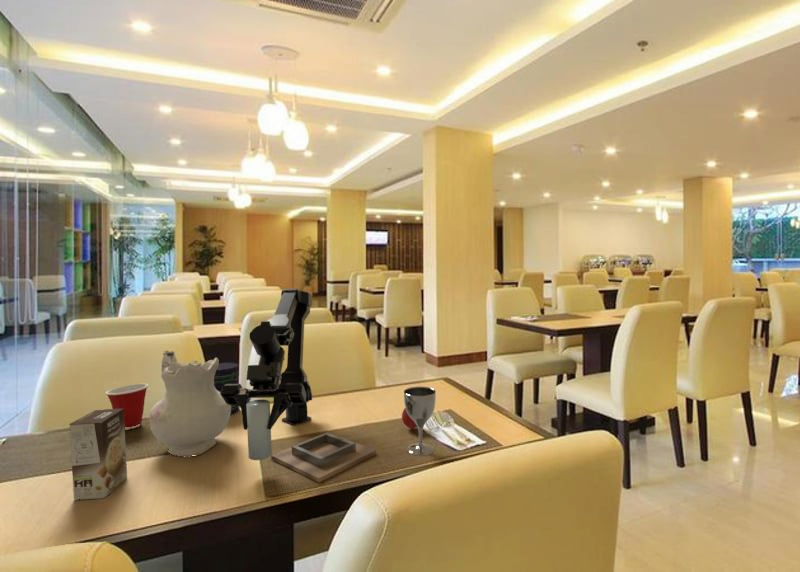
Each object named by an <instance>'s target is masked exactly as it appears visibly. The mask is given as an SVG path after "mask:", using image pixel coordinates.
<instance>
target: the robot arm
mask: <svg viewBox="0 0 800 572" xmlns="http://www.w3.org/2000/svg"><path fill="white" fill-rule="evenodd" d="M280 295H281V296H280V300H279V302H278V304H277V308H276V309H275V312H274V315H273V316H272V317H270V318H269V319H266V320H262V321H261V322H260V325H257V326H256V327H253V329H252V330H251V331H250V332H249V340H250V343H251V345H252V346H253V348H254V351H255V352H256V354H257V355H258V356H259V360H258V364H251V365H249V364H248V365H247V371H246V378H245V380H246V381H249V386H250V387H252V388H251V389H249V388H247V387H243V386H242V384H241V383H238V384H225V385H224V386H223V387H222V389H221V392H220V395H221V396H222V398H223V399H224V400H225V402H226V403H227V404H228V405H239V409H241V416H242V418H241V419H242V426H243V430H244V431H247V408H246V404H247V403H248V402H250V401H252V400H251V399H256V398H257V399H259V398H260V399H261V398H263V399H264V398H265V399H266V398H267V399H268V398H269V399H270V398H273V401H272V402H273V403H272V408H271V410H270V418H269V422H268V429H269V430H270V429H271V430H272V428H273V427H274V426H275V424H276V422H277V421H278V420H279V418H281V416H282V415H283V413H284V412H285V417H283V418H281V421H282V422H284V423H288V424H290V425H293V426H297V425H299V424H302V423H305V422H308V421H310V420H312V416H308V415H309V414H308V405H307V403H309V402H310V401H312V400H313V393H312V388H311V385H310V382H309V381H308V375H307V374H306V372H305V370H304V367H303V363H304V360H303V359H304V341H305V339H304V338H305V320H307V318H308V316H309V315H310V313H311V307H313V296H312V294H311V293H310V292H308V291H303V290H301V289H299V288H284V289H281V294H280ZM286 346H287V359H286V362H287V364H286V365H287V366H286V368H285V370H284V371H282V370H283V365H284V361H285V354H286V351H285V349H284V347H286Z"/></svg>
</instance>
